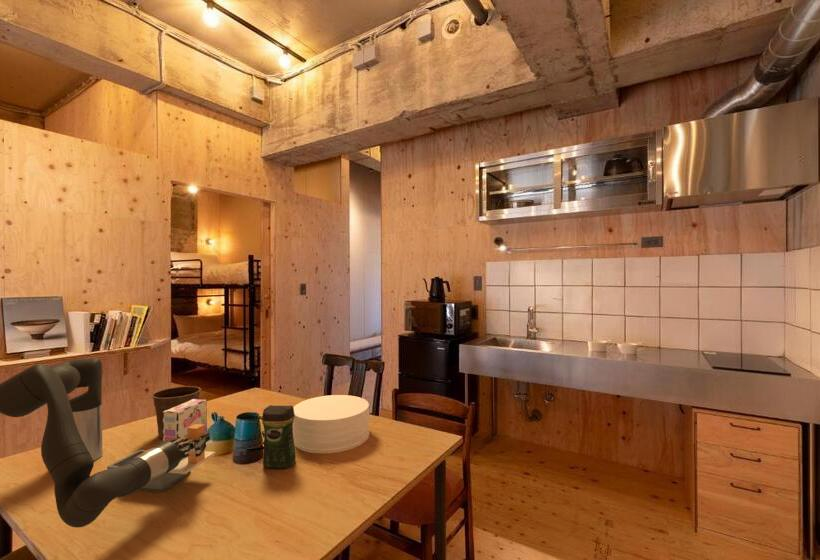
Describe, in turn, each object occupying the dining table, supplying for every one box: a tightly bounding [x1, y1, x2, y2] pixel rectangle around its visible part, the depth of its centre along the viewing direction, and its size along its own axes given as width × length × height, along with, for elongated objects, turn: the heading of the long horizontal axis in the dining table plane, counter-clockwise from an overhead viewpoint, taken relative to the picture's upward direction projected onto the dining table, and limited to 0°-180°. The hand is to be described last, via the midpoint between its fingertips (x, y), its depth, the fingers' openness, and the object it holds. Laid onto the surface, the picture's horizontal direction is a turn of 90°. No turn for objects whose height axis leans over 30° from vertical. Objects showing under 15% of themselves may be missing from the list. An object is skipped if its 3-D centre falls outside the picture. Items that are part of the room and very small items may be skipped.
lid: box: [169, 424, 216, 474], centre depth 113 cm, size 19×12×11 cm, turn 79°
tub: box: [106, 449, 192, 493], centre depth 115 cm, size 18×11×6 cm, turn 79°
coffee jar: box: [261, 405, 296, 469], centre depth 124 cm, size 10×8×19 cm
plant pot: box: [151, 385, 202, 440], centre depth 150 cm, size 16×16×16 cm
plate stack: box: [293, 394, 370, 454], centre depth 145 cm, size 28×28×12 cm
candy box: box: [162, 398, 208, 442], centre depth 133 cm, size 14×6×16 cm, turn 168°
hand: (203, 435), depth 115 cm, fingers closed on lid, 3 cm apart
